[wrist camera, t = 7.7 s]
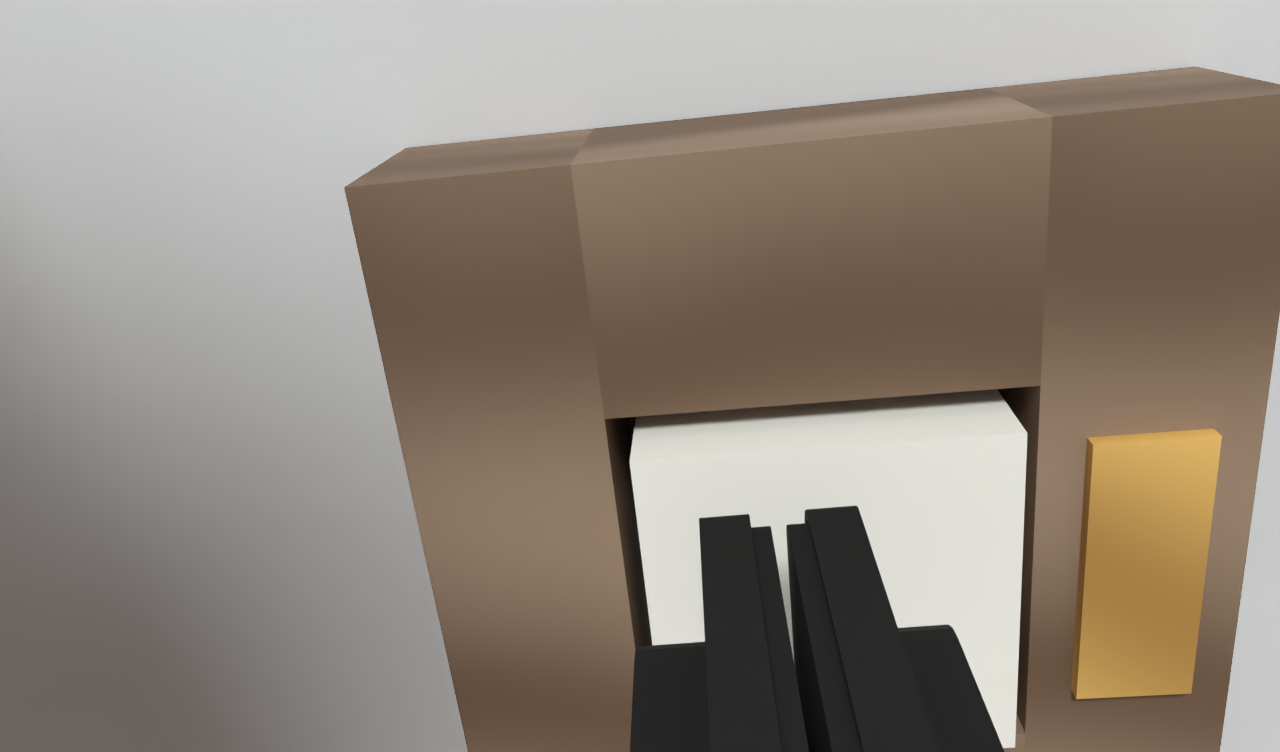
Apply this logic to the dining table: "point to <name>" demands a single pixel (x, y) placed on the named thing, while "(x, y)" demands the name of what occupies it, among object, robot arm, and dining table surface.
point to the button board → (844, 365)
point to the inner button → (853, 476)
